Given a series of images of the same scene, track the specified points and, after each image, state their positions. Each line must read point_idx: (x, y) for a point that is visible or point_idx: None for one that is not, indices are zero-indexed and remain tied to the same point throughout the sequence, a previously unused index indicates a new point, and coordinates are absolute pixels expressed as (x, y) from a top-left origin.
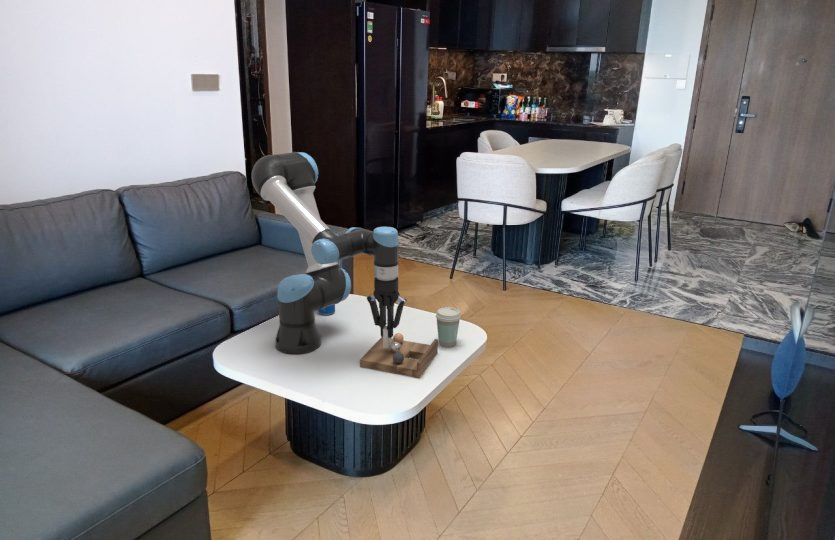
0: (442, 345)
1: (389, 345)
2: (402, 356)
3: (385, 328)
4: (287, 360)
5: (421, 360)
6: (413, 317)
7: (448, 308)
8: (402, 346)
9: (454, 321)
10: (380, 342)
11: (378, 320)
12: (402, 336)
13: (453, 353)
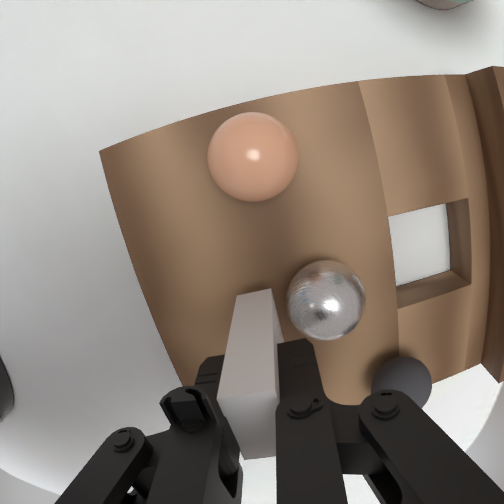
0: (432, 5)
1: (276, 311)
2: (430, 392)
3: (260, 447)
4: (30, 440)
5: None
6: None
7: None
8: (312, 187)
9: None
10: (146, 228)
11: (138, 482)
12: (293, 148)
13: (499, 59)
